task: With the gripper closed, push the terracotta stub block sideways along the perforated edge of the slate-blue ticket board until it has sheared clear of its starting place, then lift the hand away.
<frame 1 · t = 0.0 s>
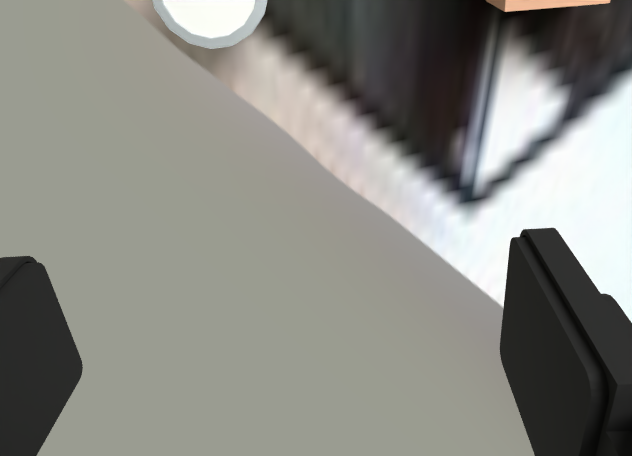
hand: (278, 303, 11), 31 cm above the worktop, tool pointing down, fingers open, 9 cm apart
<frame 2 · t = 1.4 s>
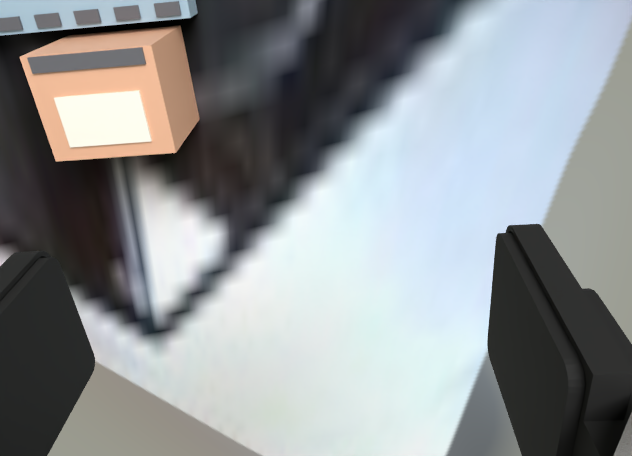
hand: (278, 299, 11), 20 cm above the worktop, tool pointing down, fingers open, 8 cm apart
stub: (119, 92, 27), point 3 cm above the worktop, slide at 0.0 cm
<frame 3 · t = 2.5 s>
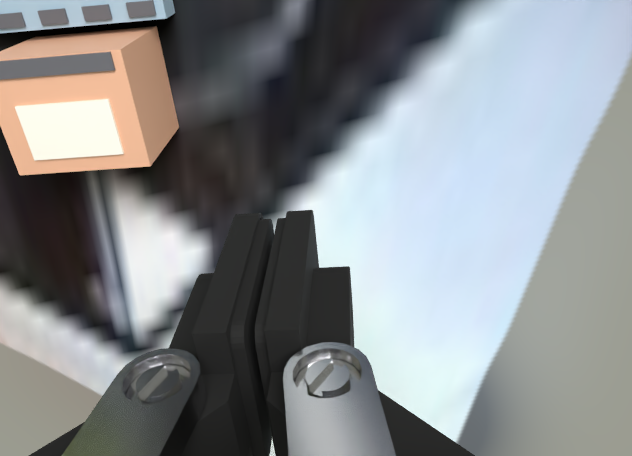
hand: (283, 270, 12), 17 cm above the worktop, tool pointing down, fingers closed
stub: (89, 99, 25), point 3 cm above the worktop, slide at 0.0 cm
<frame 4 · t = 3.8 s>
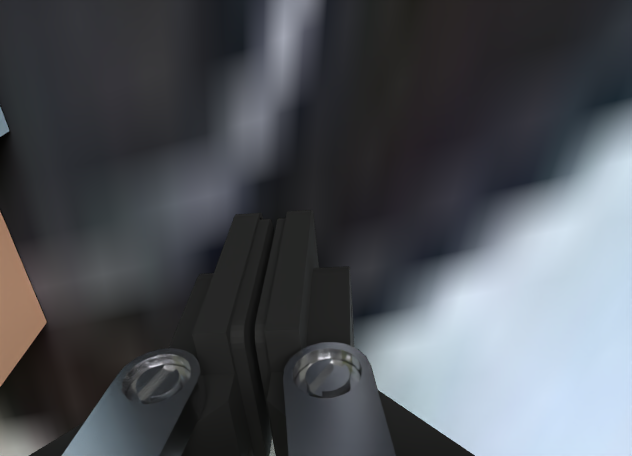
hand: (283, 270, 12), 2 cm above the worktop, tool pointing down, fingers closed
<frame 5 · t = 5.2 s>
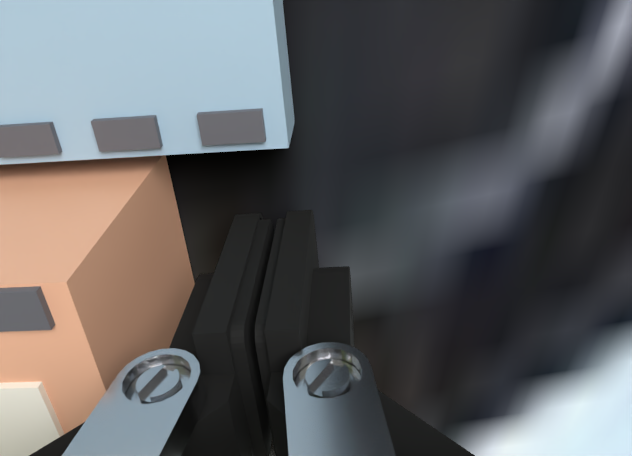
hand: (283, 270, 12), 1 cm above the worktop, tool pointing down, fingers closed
stub: (14, 319, 11), point 3 cm above the worktop, slide at 2.0 cm, touching gripper
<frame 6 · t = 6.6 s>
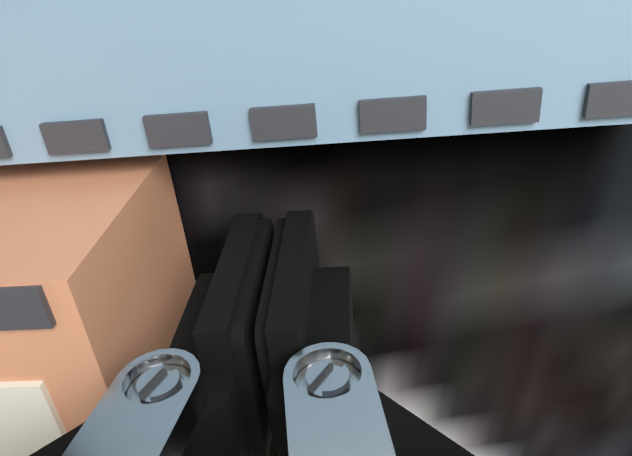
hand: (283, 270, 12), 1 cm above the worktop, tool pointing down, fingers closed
stub: (16, 319, 11), point 3 cm above the worktop, slide at 8.9 cm, touching gripper
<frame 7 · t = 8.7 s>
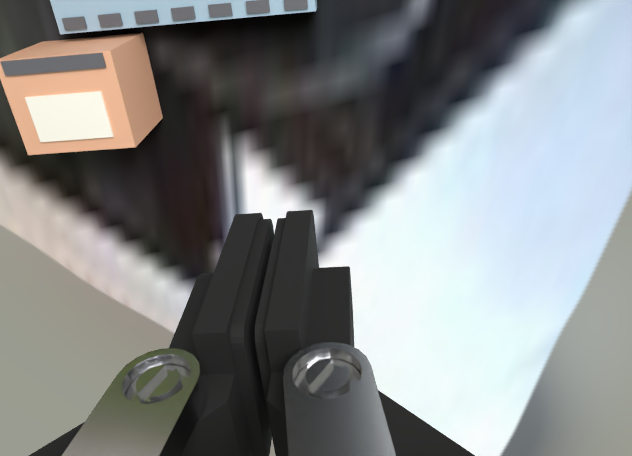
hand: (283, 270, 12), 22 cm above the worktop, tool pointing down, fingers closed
stub: (86, 92, 30), point 3 cm above the worktop, slide at 9.0 cm
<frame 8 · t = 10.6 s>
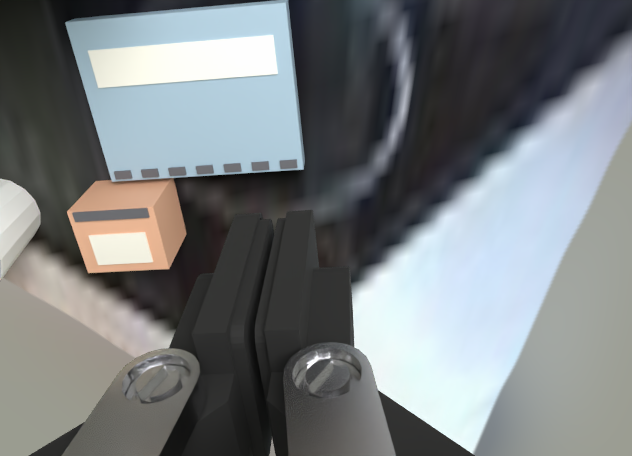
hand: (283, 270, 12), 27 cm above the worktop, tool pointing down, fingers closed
ticket: (196, 93, 38), on the worktop
shot glass: (6, 209, 43), on the worktop
stub: (131, 224, 40), point 3 cm above the worktop, slide at 9.0 cm
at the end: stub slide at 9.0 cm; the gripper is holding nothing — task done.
